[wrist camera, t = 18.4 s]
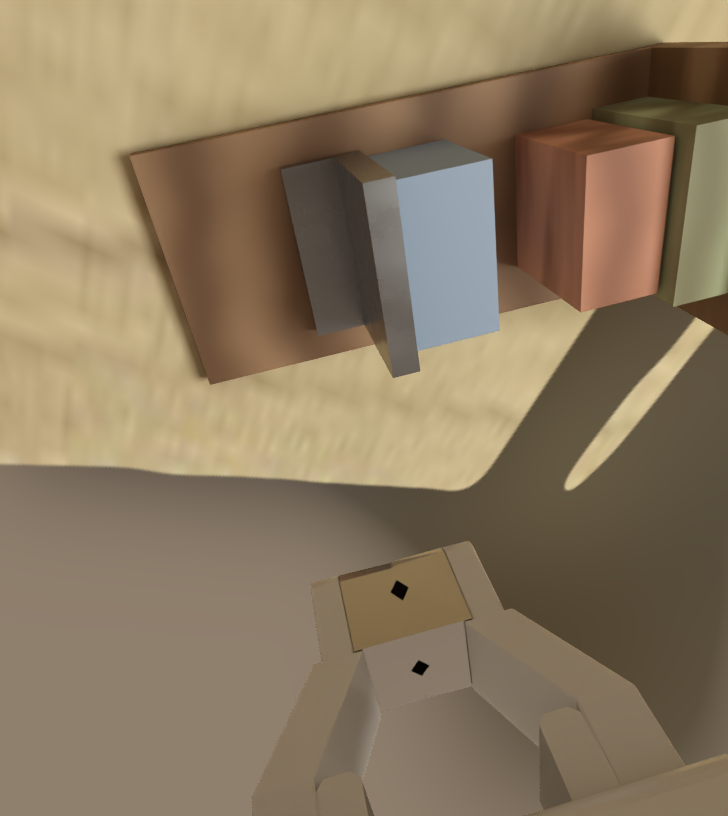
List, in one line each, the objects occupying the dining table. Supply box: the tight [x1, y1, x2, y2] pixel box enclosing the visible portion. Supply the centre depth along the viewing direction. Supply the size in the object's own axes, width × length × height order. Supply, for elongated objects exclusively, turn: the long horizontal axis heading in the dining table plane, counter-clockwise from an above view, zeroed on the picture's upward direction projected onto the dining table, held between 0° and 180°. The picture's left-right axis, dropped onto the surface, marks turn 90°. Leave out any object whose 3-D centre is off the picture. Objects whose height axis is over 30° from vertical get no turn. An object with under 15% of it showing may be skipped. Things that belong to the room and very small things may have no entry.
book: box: [368, 140, 500, 351], centre depth 33 cm, size 5×9×7 cm, turn 10°
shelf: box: [129, 42, 728, 385], centre depth 32 cm, size 31×14×11 cm, turn 100°
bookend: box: [279, 150, 420, 378], centre depth 32 cm, size 4×10×8 cm, turn 10°
